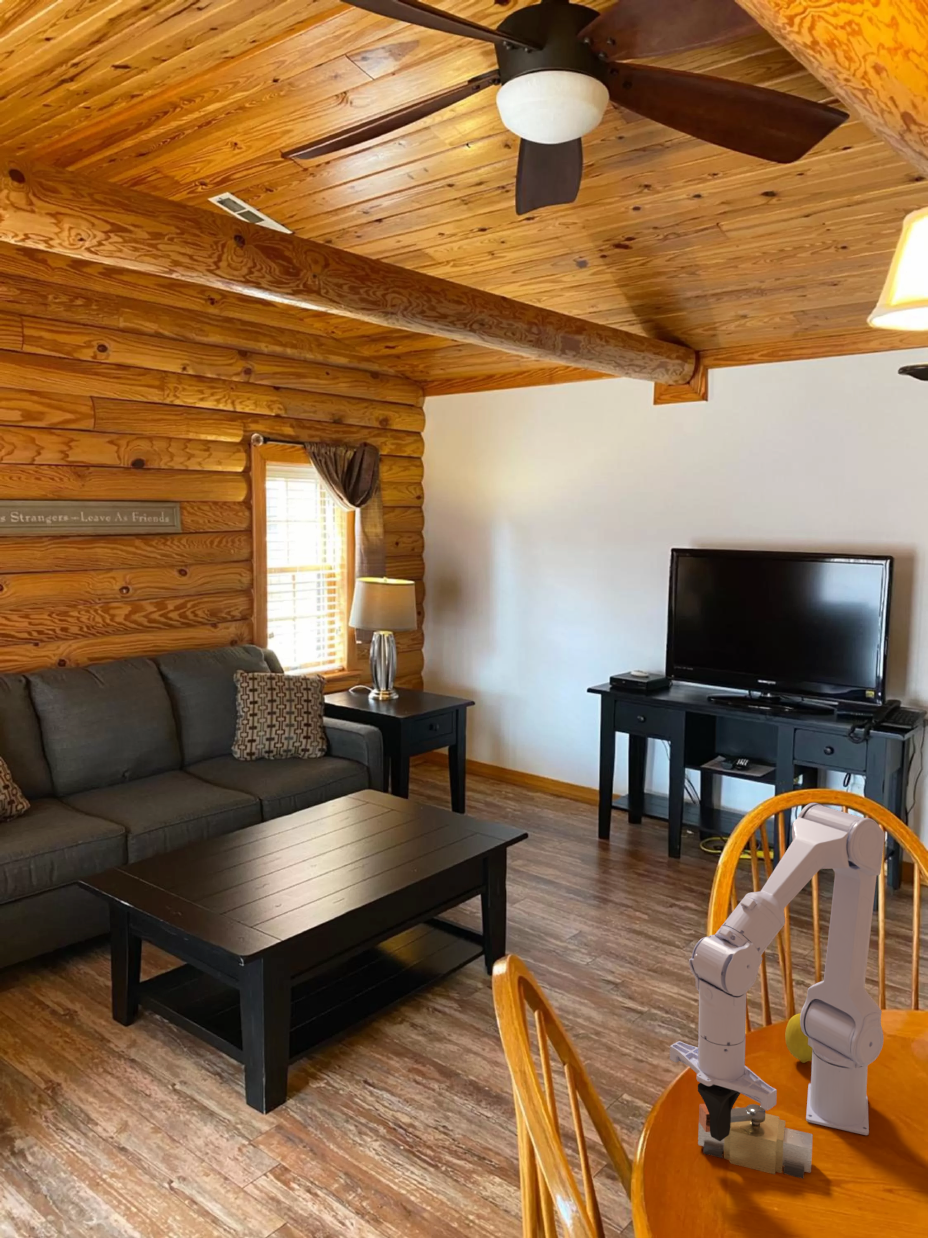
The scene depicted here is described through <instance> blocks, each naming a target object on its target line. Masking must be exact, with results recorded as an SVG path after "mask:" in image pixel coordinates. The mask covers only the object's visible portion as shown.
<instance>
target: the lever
mask: <svg viewBox="0 0 928 1238" xmlns="http://www.w3.org/2000/svg"><path fill="white" fill-rule="evenodd" d="M698 1106H699V1108H698V1109H699V1110H698V1111H699V1112H698V1113H699V1114H698V1123H699V1122H700V1124H701V1126H702V1127H703V1129H704V1130H705V1132H710V1115H709V1112H708V1109H707V1107H706V1105H705V1103H699V1105H698ZM765 1113H766V1110H765V1109H763V1108H761V1106H760V1105H759V1104H755V1103H751V1104H748V1105H747V1106H746V1107H740V1108H735V1107H734V1108H733V1109H732V1110H731V1122H743V1121H752V1122H756V1123H761V1122H764V1121H765Z"/></svg>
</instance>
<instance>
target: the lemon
mask: <svg viewBox="0 0 928 1238" xmlns="http://www.w3.org/2000/svg"><path fill="white" fill-rule="evenodd" d="M800 1015H801V1012H799V1013H797V1014H794V1015H792V1017H790V1019H788V1022H787V1023H786V1024H787V1025H786V1028H785V1034H784V1035H785V1036H784V1037H785V1038H784V1039H785V1044H786V1047H787V1050H788V1051H789V1052H790V1054H791V1055H792V1056H793V1057H794V1058H795V1059H797V1060H799V1061H800V1062H801V1063H802V1064H805V1063H807V1062H812V1047H811V1046H809V1045H808V1037H807V1036H806V1035H805V1034H804V1033H803V1032H802V1029H801V1025H800Z"/></svg>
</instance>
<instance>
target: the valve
mask: <svg viewBox="0 0 928 1238" xmlns="http://www.w3.org/2000/svg"><path fill="white" fill-rule="evenodd" d="M734 1108H741V1107H739V1106H735V1107H734ZM734 1108H733V1107H732V1109H734ZM697 1134H698V1137H697V1140H698V1141H697V1144H698V1146H701V1147H703V1154H705V1155H709V1156H712V1157H717V1158H720V1159H724V1160H728V1161H729V1164H732V1165H737V1166H740V1167H742V1168H743V1167H745V1168H748V1169H751V1170H756V1171H759V1172H764V1173H768V1174H771V1175H776V1173H780V1174H783V1175H787V1176H792V1177H795V1178H799V1179H804V1178H805V1172H806V1173H810V1174H811V1172H812V1161H813V1160H812V1158H813V1136H814V1135H813V1134H812V1133H809V1132H805V1131H800V1130H797V1129H792V1128H788V1127H786V1120H783V1119H780V1116H778V1115H773V1114H769V1113H766V1112H765V1121H764V1122H761V1123H756V1122H752V1121H743V1122H731V1126H730V1132H729V1135H728V1136H727V1137H725V1138H724V1139H723V1140H721V1141H718V1140H716V1139H715V1138H713V1137H711V1134H710V1132H705V1130H704V1129H703V1127H702V1126H701V1124H700V1122H699V1121H698V1133H697Z"/></svg>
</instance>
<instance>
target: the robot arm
mask: <svg viewBox="0 0 928 1238" xmlns="http://www.w3.org/2000/svg"><path fill="white" fill-rule="evenodd" d="M885 836H886V835H885V832H884V830H883V829H882V828H881V826H880V825H879V824H878V823H877V822H876V821H875V820H874V819H872V818H869V817H862V816H858V815H854V814H852V813H848V812H845V811H841V810H837V809H835V808H831V807H828V806H824V805H822V804H821V803H817V802H810V803H808V804H807V805H806V804H805V806H804V807H803V808H802V809H801V810H800V812H799V814H798V816H797V818H796V819H795V820H794V821H793V823H792V827H791V837H792V842H791V843H790V845H789V846H788V848H787V850H786V851H785V853H784V854H783V855H782V857H781V858H780V860H779V862H778V863H777V864H776V866H775V868H774V870H773V871H772V872H771V874H770V876H769V878H767V880H766V882H765V883H764V885H763V886H762V888H761V890H760V891H752V892H748V893H746V894H745V895H744V897H743V898H741V900H740V902H739V903H738V904H737V906H736V907H735V908H734V910H733V911H732V912H730V914H729V916H728V917H727V919H725V921H724V923H723V924H722V925H721V926H720V928H719V929H718V930H717V931H716V933H715V934H710V935H708V936H704V937H702V938H700V940H698V942H696V944H695V946H694V947H693V949H692V953H691V957H690V958H689V959H688V966H689V970H690V972H691V974H692V975H693V976H694V979H695V989H696V990H697V991H698V1039H697V1040H698V1041H697V1042H698V1043H697V1044H698V1046H694V1045H692V1044H688V1043H684V1042H683V1041H681V1040H678V1041H676V1042H675V1043H673V1044H671V1045H670V1046H669V1060H670V1061H672V1062H674V1063H678V1062H681V1063H682V1064H684V1065H686V1066H687V1067H689V1068H690V1069H691V1070H693V1072H695V1074H696V1080H697V1082H699V1083H698V1084H697V1092H698V1093H699V1095H700V1097H701V1099H702V1100H703V1102H704V1104H705V1105H706V1107H707V1109H708V1112H709V1115H710V1134H711V1137H713V1138H715V1139H716V1140H718V1141H721V1140H723V1139H724V1138H725V1137H727V1136H728V1135H729V1132H730V1126H731V1110H732V1108H733V1107H734V1106H735V1103H736V1101H737V1100H738V1098H739V1097H740V1095H741V1094H742V1095H744V1096H746V1097H748V1098H749V1099H751V1100H753V1101H755V1102H757V1103H759V1104H760V1105H759V1106H761V1108H763V1109H765V1111H769V1110H771V1109H773V1107H775V1106H776V1105H777V1093H778V1092H777V1089H776V1088H775V1087H772V1086H770V1084H768V1083H767V1082H765V1081H764V1080H763V1079H761V1077H760V1076H758V1075H757V1074H756V1073H755V1072H754V1071H752V1070H751V1069H750V1068H749V1067H748V1066H746V1065H745V1064H746V1027H747V1026H746V1025H747V1024H746V1023H747V1022H746V1021H747V993H748V991H749V990H750V989H751V988H752V987H754V985H755V983H756V980H757V978H758V974H759V968H760V966H761V965H762V961H763V957H762V955H763V954H764V952H765V951H766V949H767V948H768V947H769V946H770V944H771V943H772V941H774V939H775V938H776V936H777V934H778V933H779V932H780V931H781V930H782V928H783V927H784V925H785V924H786V918H785V912H784V911H785V908H786V907H787V906H788V905H789V903H791V902H792V901H793V899H794V898H795V897H796V896H797V895H798V894H799V893H800V892H801V891H802V889H803V888H805V886H806V885H807V884H808V883H809V882H810V881H811V879H813V877H814V876H815V875H816V874H817V873H818V872H819V871H820V870H823V869H824V870H825V869H827V870H829V869H830V870H831V869H832V870H833V872H834V879H833V881H834V882H833V890H832V901H831V909H830V919H829V927H828V937H827V938H828V939H827V947H826V956H825V965H824V976H823V980H821V981H819V982H816V983H814V984H812V985H810V987H808V988H807V993H806V994H807V995H806V998H805V1002H804V1003H803V1006H802V1008H801V1010H800V1013H801V1015H800V1025H801V1029H802V1032H803V1033H804V1034H805V1035H806V1036H807V1037H808V1045H809V1046H811V1047H812V1061H811V1073H810V1074H811V1076H810V1082H809V1083H808V1085H807V1086H808V1088H807V1099H806V1100H807V1101H806V1103H807V1104H806V1115H805V1120H806V1121H807V1122H808V1123H810V1124H816V1125H821V1126H825V1127H827V1128H828V1127H829V1128H831V1129H838V1130H842V1131H846V1132H850V1133H855V1134H860V1135H863V1136H868V1135H869V1133H870V1130H869V1129H870V1127H869V1126H870V1125H869V1104H868V1103H869V1101H868V1100H869V1098H868V1095H867V1084H868V1066H869V1065H870V1064H872V1063H874V1061H876V1059H877V1058H879V1055H880V1053H881V1052H882V1049H883V1046H884V1031H883V1028H882V1009H881V1008H880V1006H879V1005H878V1003H877V1002H876V1001H875V1000H874V999H873V998H872V995H870V993H869V992H868V991H867V988H865V985H866V975H867V969H868V968H867V967H868V959H869V948H870V937H871V930H872V920H873V913H874V912H873V911H874V901H875V891H876V884H877V883H876V882H877V876H879V875H880V874H881V871H882V862H883V855H884V854H883V853H884V844H885Z"/></svg>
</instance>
